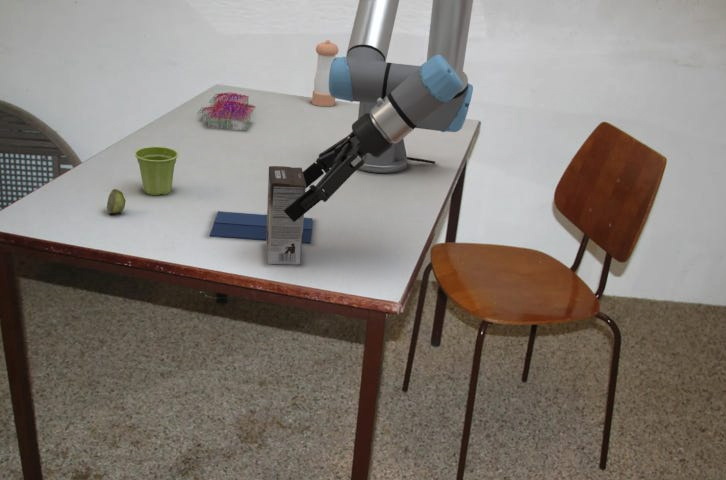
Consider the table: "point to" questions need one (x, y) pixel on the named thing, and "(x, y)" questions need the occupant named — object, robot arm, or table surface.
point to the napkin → (249, 226)
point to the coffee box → (284, 215)
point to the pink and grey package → (227, 110)
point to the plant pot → (156, 168)
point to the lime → (115, 202)
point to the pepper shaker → (324, 74)
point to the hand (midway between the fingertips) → (291, 202)
